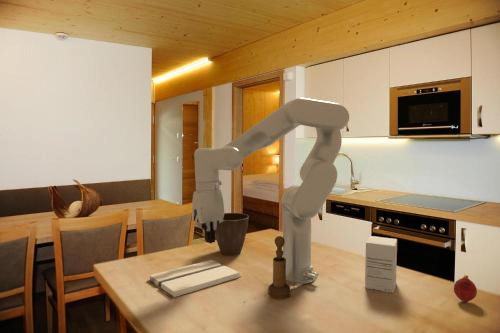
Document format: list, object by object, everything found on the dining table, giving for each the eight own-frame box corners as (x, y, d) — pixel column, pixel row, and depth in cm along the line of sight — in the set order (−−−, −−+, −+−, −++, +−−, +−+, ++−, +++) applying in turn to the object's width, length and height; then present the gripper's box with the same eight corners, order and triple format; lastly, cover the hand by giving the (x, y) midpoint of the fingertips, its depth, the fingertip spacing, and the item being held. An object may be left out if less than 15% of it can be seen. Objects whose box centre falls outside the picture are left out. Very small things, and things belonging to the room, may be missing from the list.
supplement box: (368, 278, 123) (369, 235, 122) (396, 283, 119) (397, 238, 118) (363, 288, 115) (365, 242, 113) (394, 293, 111) (395, 245, 110)
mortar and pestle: (275, 301, 106) (275, 240, 104) (264, 292, 111) (264, 235, 110) (294, 296, 109) (294, 237, 107) (282, 288, 114) (283, 232, 113)
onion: (476, 308, 101) (477, 280, 100) (452, 303, 104) (453, 276, 103) (476, 300, 106) (477, 274, 105) (453, 296, 109) (454, 270, 108)
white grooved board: (241, 280, 121) (241, 272, 121) (171, 302, 105) (171, 293, 104) (213, 266, 134) (213, 259, 134) (147, 284, 118) (146, 275, 117)
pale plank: (239, 277, 120) (239, 272, 120) (174, 297, 105) (174, 291, 105) (224, 269, 127) (224, 265, 127) (161, 287, 112) (161, 282, 112)
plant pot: (204, 256, 146) (204, 217, 145) (227, 247, 158) (227, 211, 157) (234, 263, 137) (233, 222, 136) (255, 253, 150) (255, 215, 148)
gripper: (219, 183, 124) (221, 235, 125) (181, 188, 114) (184, 244, 116) (233, 184, 118) (235, 239, 120) (194, 190, 109) (197, 249, 110)
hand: (210, 242), depth 118 cm, fingers closed
